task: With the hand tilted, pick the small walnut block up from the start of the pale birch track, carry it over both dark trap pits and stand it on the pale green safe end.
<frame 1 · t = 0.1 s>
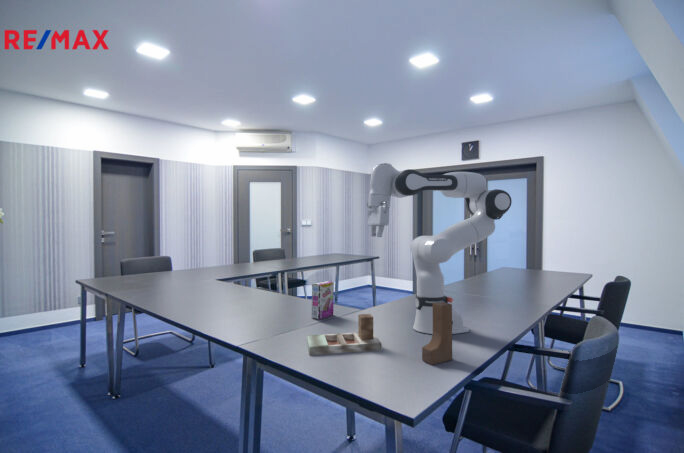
hand: (376, 236, 140), 39 cm above the table, tool pointing down, fingers open, 8 cm apart
walnut block: (365, 337, 125), point 2 cm above the table, touching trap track
candy bar box: (323, 317, 164), on the table
wooden block: (437, 361, 110), on the table
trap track: (342, 346, 123), on the table
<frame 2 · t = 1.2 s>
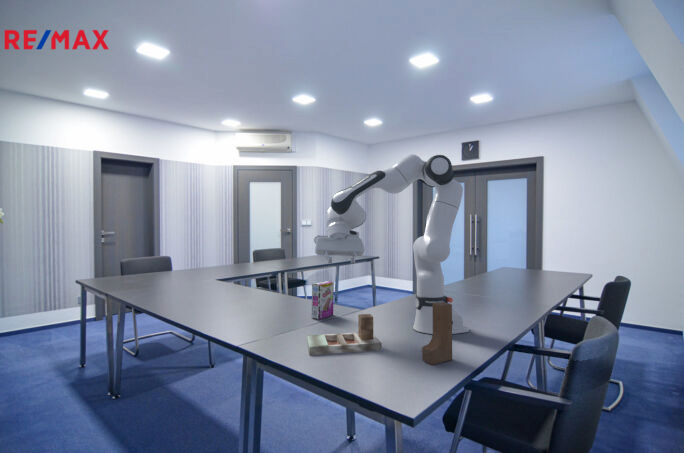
hand: (341, 262, 136), 29 cm above the table, tool tilted 45°, fingers open, 8 cm apart
nothing on the table moved.
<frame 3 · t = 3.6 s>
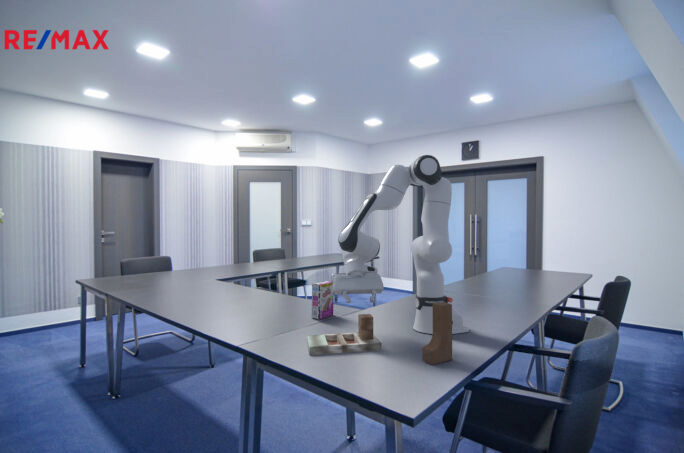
hand: (360, 301, 132), 14 cm above the table, tool tilted 45°, fingers open, 8 cm apart
nothing on the table moved.
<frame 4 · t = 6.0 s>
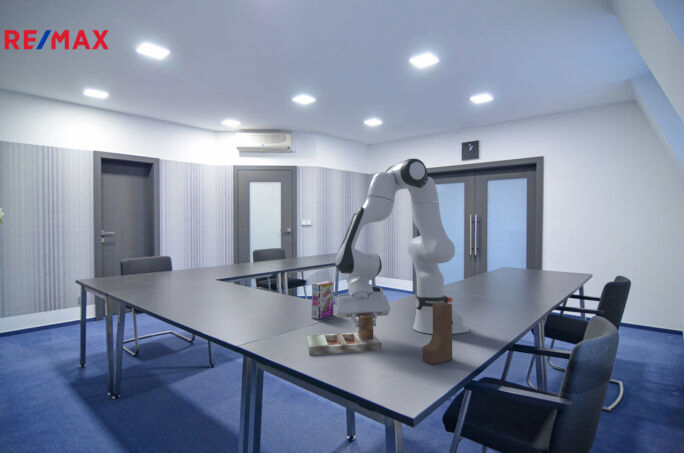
hand: (366, 325, 124), 7 cm above the table, tool tilted 45°, fingers closed on walnut block, 4 cm apart
walnut block: (365, 337, 125), point 2 cm above the table, touching gripper, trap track
everything else where it was.
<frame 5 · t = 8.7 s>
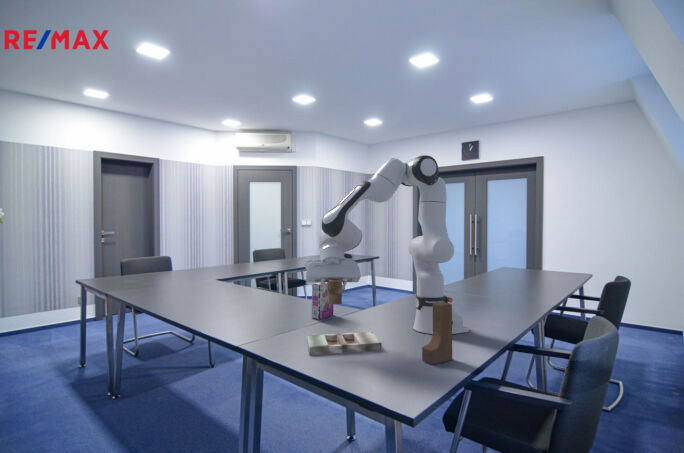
hand: (334, 290, 122), 20 cm above the table, tool tilted 45°, fingers closed on walnut block, 4 cm apart
walnut block: (334, 302, 123), point 16 cm above the table, touching gripper
everything else where it was.
when the fingers open (8 cm above the table, at t = 11.6 s): walnut block drops 2 cm, resting on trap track.
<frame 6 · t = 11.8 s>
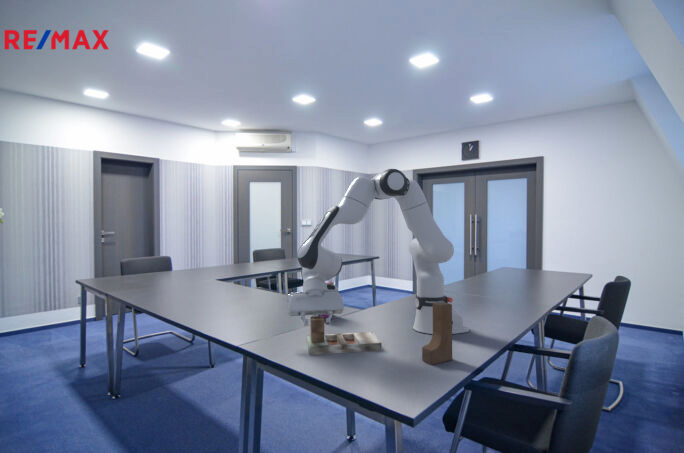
hand: (317, 324, 121), 8 cm above the table, tool tilted 45°, fingers open, 6 cm apart
walnut block: (317, 340, 122), point 2 cm above the table, touching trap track
everything else where it was.
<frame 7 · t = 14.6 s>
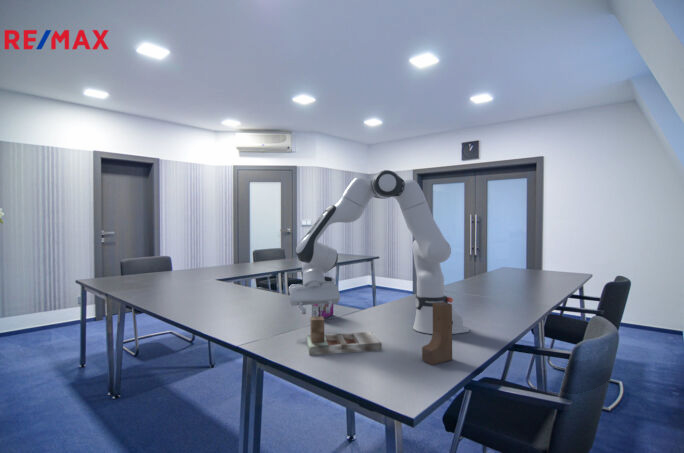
hand: (316, 312, 133), 10 cm above the table, tool tilted 45°, fingers open, 8 cm apart
nothing on the table moved.
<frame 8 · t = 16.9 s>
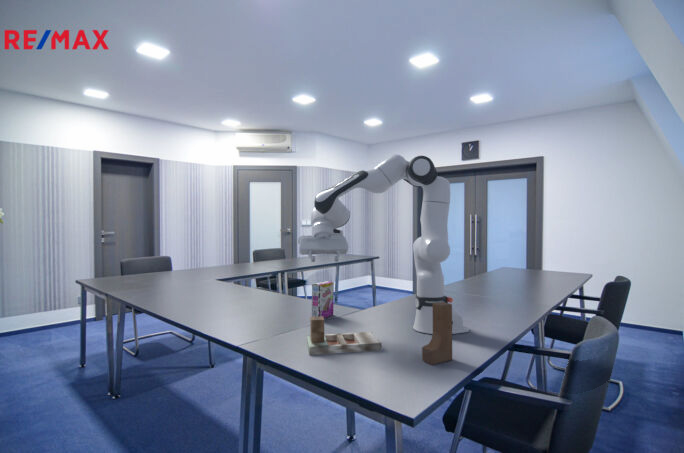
hand: (325, 260, 137), 29 cm above the table, tool tilted 45°, fingers open, 8 cm apart
nothing on the table moved.
at the end: walnut block 0.0 cm from the target spot, point 2.5 cm above the table; walnut block tilted 0°; the gripper is holding nothing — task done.
